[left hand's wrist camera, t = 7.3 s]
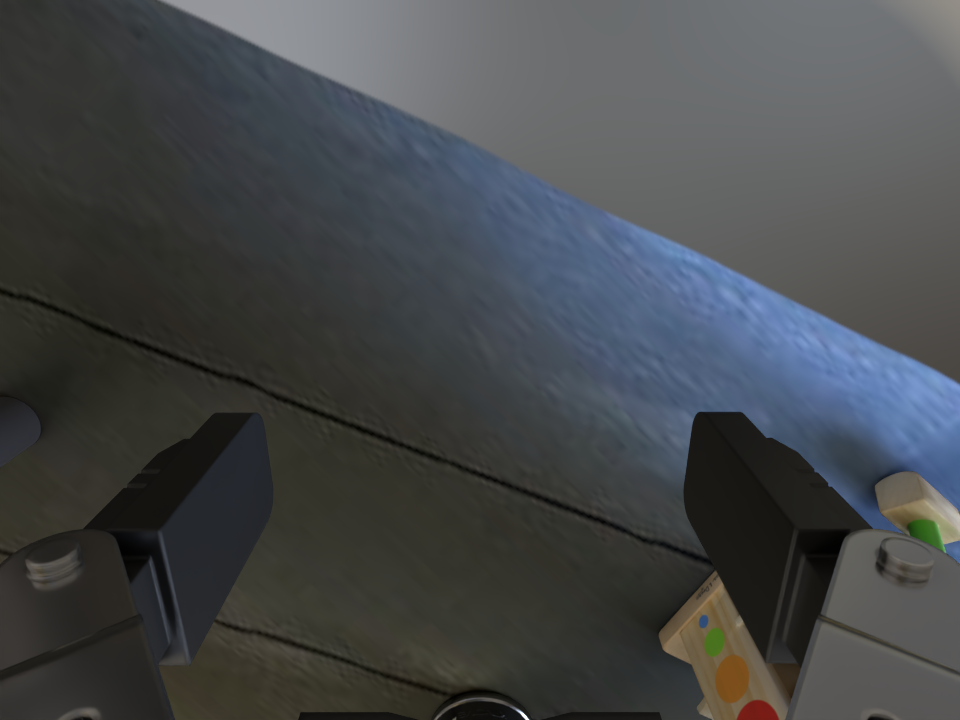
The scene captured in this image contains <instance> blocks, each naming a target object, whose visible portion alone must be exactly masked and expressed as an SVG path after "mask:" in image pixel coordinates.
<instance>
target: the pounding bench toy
mask: <svg viewBox="0 0 960 720" xmlns="http://www.w3.org/2000/svg"><path fill="white" fill-rule="evenodd" d="M875 492H876V497H877V501H878V506H879V510H880V512H881V514H882V515H883V516H884V517H886V518H887V519H888V520H889V521H890V522H891V523H892V524H893V525H895V526H896V527H897V528H898V529H899V530H900V531H902V532H903V533H904V534H905V535H908V536H911V537H914V538H917V539H920V540H922V541H924V542H926V543H929V544H931V545H933V546H934V547H936V548H938V549H940V550H942V551H943V552H945V553H946V551H945V548H944V544H947V543H951V542H955V541H958V540H960V514H959V512H958V509H957V508H955V507H954V506H953V505H952V504H951V503H950V502H949V501H948V500H947V499H945V498H944V497H943V496H942V495H941V494H940V493H939V492H938V491H937V490H935V489H934V488H933V487H932V486H931V485H930V484H929V483H928V482H927V481H926V480H924V479H923V478H922V477H921V476H920V475H919V474H917V473H916V472H912V471H904V472H899V473H895V474H893V475H890V476H888V477H886V478H884V479H882V480H881V481H879V482H878V483H877V484H876V485H875ZM659 639H660V642H661V645H662V648H663V650H664V651H665V652H667V653H669V654H671V655H673V656H675V657H677V658H679V659H681V660H683V661H685V662H687V663H689V664H691V665H692V667H693V669H694V672H695V674H696V677H697V679H698V682H699V684H700V687H701V689H702V692H703V694H704V698H703V699H702V701H701V702H700V704H699V705H698V707H697V710H698V711H699V713H700V714H701V715H704V716H706V717H708V718H710V719H713V720H785V718H786V715H787V712H788V709H789V706H790V702H791V699H792V696H793V693H794V690H795V687H796V683H797V680H798V677H799V674H800V671H801V668H800V667H799V665H798V663H765V661H764V659H763V657H762V656H761V654H760V652H759V650H758V648H757V646H756V644H755V643H754V641H753V639H752V637H751V635H750V633H749V631H748V629H747V628H746V626H745V624H744V622H743V620H742V618H741V616H740V615H739V613H738V611H737V609H736V607H735V605H734V603H733V601H732V600H731V598H730V596H729V594H728V592H727V590H726V588H725V587H724V585H723V583H722V581H721V579H720V577H719V575H718V574H717V572H716V570H715V571H714V572H713V573H712V575H711V576H710V577H709V578H708V579H707V580H706V581H705V582H704V583H703V584H702V585H701V587H700V588H699V589H698V590H697V591H696V592H695V593H694V594H693V595H692V596H691V597H690V599H689V600H688V601H687V602H686V603H685V604H684V605H683V606H682V607H681V608H680V609H679V611H678V612H677V613H676V614H675V615H674V616H673V617H672V618H671V619H670V620H669V622H668V623H667V624H666V625H665V626H664V627H663V628H662V629H661V631H660V632H659Z"/></svg>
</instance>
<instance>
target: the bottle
mask: <svg viewBox="0 0 960 720" xmlns="http://www.w3.org/2000/svg"><path fill="white" fill-rule="evenodd" d="M40 433H41V425H40V421H39V419H38V417H37V415H36V414H35V412H34V411H33V410H32V409H31V408H30V407H29V406H28V405H26V404H25V403H23V402H22V401H20V400H18V399H15V398H11V397H0V467H2V466H3V465H4V464H6V463H7V462H9V461H10V460H11V459H13V458H14V457H16V456H17V455H19V454H20V453H21V452H23V451H24V450H26V449H27V448H29V447H30V446H31V445H33V444H34V443H35V442H36V441H37V440H38V438H39V436H40Z"/></svg>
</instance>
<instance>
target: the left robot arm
mask: <svg viewBox="0 0 960 720" xmlns="http://www.w3.org/2000/svg"><path fill="white" fill-rule="evenodd" d="M141 471H142V472H141V474H137V475H136V476H135V477H134V478H133V479H132V480H131V481H130V482H129V483H128V484H127V488H123V489H122V490H121V491H120V492H119V493H118V494H117V495H116V496H115V497H114V498H113V499H112V500H111V501H110V502H109V503H108V504H107V505H106V506H105V507H104V508H103V509H102V510H101V511H100V512H99V513H98V515H97V516H96V517H95V518H94V519H93V520H92V521H91V522H90V523H89V524H88V525H87V526H86V527H85V528H84V529H80V530H72V531H67V532H62V533H59V534H55V535H52V536H49V537H46V538H43V539H40V540H38V541H36V542H34V543H31V544H29V545H27V546H26V547H24V548H22V549H20V550H18V551H17V552H15V553H14V554H12V555H11V556H9V557H8V558H7V559H5V560H4V561H3V562H2V563H1V564H0V720H175V718H174V715H173V712H172V709H171V706H170V702H169V699H168V696H167V693H166V690H165V687H164V683H163V680H162V677H161V674H160V671H159V667H158V666H190V664H191V662H192V660H193V658H194V657H195V655H196V653H197V651H198V649H199V647H200V646H201V644H202V642H203V640H204V638H205V636H206V634H207V633H208V631H209V629H210V627H211V625H212V623H213V622H214V620H215V618H216V616H217V614H218V612H219V611H220V609H221V607H222V605H223V603H224V601H225V599H226V598H227V596H228V594H229V592H230V590H231V588H232V587H233V585H234V583H235V581H236V579H237V577H238V575H239V574H240V572H241V570H242V568H243V566H244V564H245V563H246V561H247V559H248V557H249V555H250V553H251V552H252V550H253V548H254V546H255V544H256V542H257V540H258V539H259V537H260V535H261V533H262V531H263V529H264V528H265V526H266V524H267V522H268V520H269V517H270V514H271V510H272V504H273V484H272V477H271V470H270V462H269V455H268V448H267V441H266V434H265V428H264V423H263V420H262V417H261V416H260V415H259V414H258V413H215V414H213V415H212V416H211V417H210V418H209V419H208V420H207V421H206V422H205V423H204V424H203V426H202V427H201V428H200V429H199V430H198V431H197V432H196V433H195V434H194V435H193V436H192V437H191V438H190V439H183V440H182V441H180V442H178V443H176V444H174V445H173V446H171V447H169V448H167V449H165V450H164V451H162V452H160V453H158V454H157V455H156V456H155V457H154V458H153V459H152V460H151V461H150V462H149V463H148V464H147V465H146V466H145V467H144V468H143V469H142V470H141ZM684 504H685V509H686V513H687V517H688V519H689V521H690V523H691V525H692V527H693V529H694V531H695V532H696V534H697V536H698V538H699V540H700V542H701V544H702V546H703V547H704V549H705V551H706V553H707V555H708V557H709V559H710V560H711V562H712V564H713V566H714V568H715V570H716V572H717V574H718V575H719V577H720V579H721V581H722V583H723V585H724V587H725V588H726V590H727V592H728V594H729V596H730V598H731V600H732V601H733V603H734V605H735V607H736V609H737V611H738V613H739V615H740V616H741V618H742V620H743V622H744V624H745V626H746V628H747V629H748V631H749V633H750V635H751V637H752V639H753V641H754V643H755V644H756V646H757V648H758V650H759V652H760V654H761V656H762V657H763V659H764V661H765V663H798V665H799V667H800V668H801V671H800V674H799V677H798V680H797V683H796V687H795V690H794V693H793V696H792V699H791V702H790V706H789V709H788V712H787V715H786V718H785V720H960V564H959V563H958V562H957V561H956V560H955V559H953V558H952V557H951V556H949V555H948V554H946V553H945V552H943V551H942V550H940V549H938V548H936V547H934V546H933V545H931V544H929V543H926V542H924V541H922V540H920V539H917V538H914V537H911V536H908V535H905V534H901V533H898V532H893V531H888V530H880V529H873V528H872V527H871V526H870V525H869V524H868V523H867V522H866V521H865V520H864V519H863V518H862V517H861V516H860V515H859V514H858V513H857V512H856V511H855V510H854V509H853V508H852V507H851V506H850V505H849V504H848V503H847V502H846V501H845V500H844V499H843V498H842V497H841V496H840V495H839V494H838V493H837V492H836V491H835V490H834V489H833V488H832V487H828V483H827V482H826V480H825V479H824V478H823V477H822V476H821V475H820V474H819V473H815V472H814V468H813V467H812V466H811V465H810V464H809V463H808V462H807V461H806V460H805V459H804V458H803V457H802V456H801V455H800V454H799V453H798V452H796V451H794V450H793V449H791V448H789V447H787V446H785V445H784V444H782V443H780V442H778V441H777V440H775V439H773V438H766V437H765V436H764V435H763V434H762V433H761V432H760V431H759V430H758V429H757V428H756V426H755V425H754V424H753V423H752V422H751V421H750V420H749V419H748V418H747V417H746V416H745V415H744V414H743V413H742V412H698V413H697V414H696V416H695V418H694V421H693V425H692V432H691V439H690V446H689V453H688V460H687V467H686V475H685V482H684ZM298 720H417V719H413V718H409V717H405V716H401V715H397V714H393V713H389V712H301V713H300V716H299V719H298ZM431 720H532V719H531V717H530V715H529V713H528V712H527V711H526V709H525V708H524V707H523V706H521V705H520V704H519V703H517V702H516V701H514V700H513V699H511V698H508V697H506V696H503V695H500V694H495V693H489V692H474V693H468V694H463V695H460V696H457V697H455V698H452V699H451V700H449V701H447V702H446V703H444V704H443V705H442V706H440V707H439V708H438V709H437V711H436V712H435V713H434V715H433V717H432V719H431ZM543 720H662V719H661V716H660V713H659V712H571V713H567V714H563V715H559V716H555V717H551V718H547V719H543Z"/></svg>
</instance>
